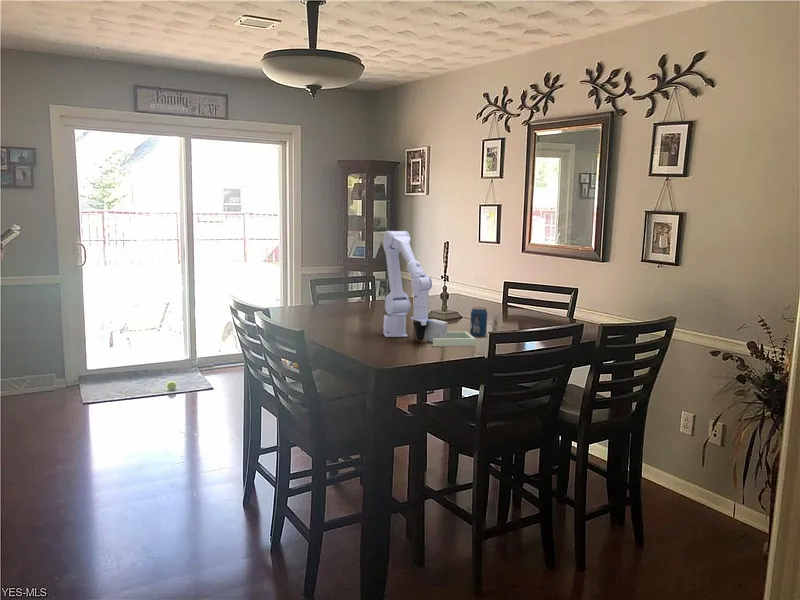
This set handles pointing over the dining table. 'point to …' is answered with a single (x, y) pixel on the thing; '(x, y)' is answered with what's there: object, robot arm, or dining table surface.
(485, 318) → the soda can
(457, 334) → the bay
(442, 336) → the medicine box
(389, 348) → the dining table surface
